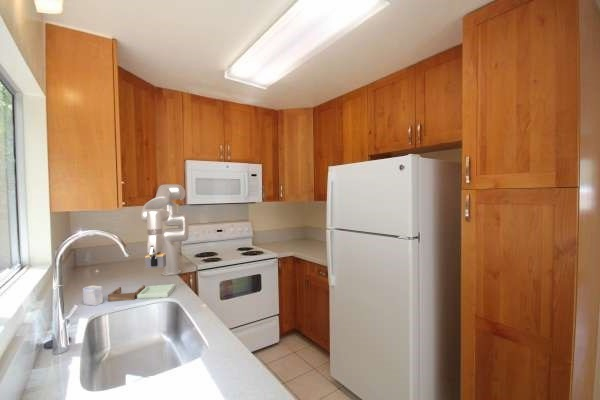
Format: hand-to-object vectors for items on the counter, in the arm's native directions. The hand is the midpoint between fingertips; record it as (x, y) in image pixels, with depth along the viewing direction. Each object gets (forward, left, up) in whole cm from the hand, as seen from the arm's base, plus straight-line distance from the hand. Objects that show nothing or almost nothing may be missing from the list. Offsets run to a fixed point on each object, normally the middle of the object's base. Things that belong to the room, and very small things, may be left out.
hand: (156, 264), depth 151 cm
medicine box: (+8, -28, -17) cm, 34 cm away
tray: (0, 0, -16) cm, 16 cm away
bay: (0, -15, -16) cm, 22 cm away
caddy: (0, 0, -2) cm, 2 cm away
